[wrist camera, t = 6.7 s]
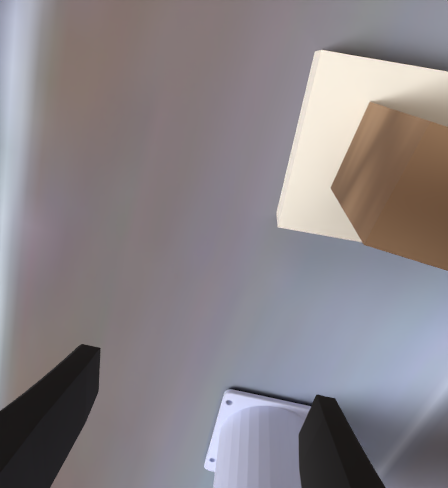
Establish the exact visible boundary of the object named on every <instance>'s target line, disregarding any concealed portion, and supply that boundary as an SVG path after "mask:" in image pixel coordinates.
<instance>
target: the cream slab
mask: <svg viewBox="0 0 448 488" xmlns="http://www.w3.org/2000/svg"><path fill="white" fill-rule="evenodd" d="M369 102H373V103H376V104H379V105H382V106H385V107H388V108H391V109H394V110H397V111H400V112H403V113H407V114H410V115H413V116H416V117H419V118H422V119H425V120H428V121H431V122H434V123H437V124H440V125H443V126H446V127H448V72H447V71H441V70H435V69H429V68H424V67H418V66H412V65H406V64H400V63H395V62H389V61H383V60H377V59H371V58H365V57H360V56H354V55H348V54H342V53H336V52H331V51H325V50H320V51H316V52H315V54H314V58H313V62H312V66H311V71H310V75H309V79H308V83H307V87H306V92H305V96H304V100H303V104H302V108H301V113H300V117H299V121H298V125H297V129H296V134H295V138H294V142H293V146H292V150H291V155H290V159H289V163H288V167H287V171H286V176H285V180H284V184H283V188H282V192H281V197H280V201H279V205H278V209H277V223H278V227H280V228H285V229H291V230H297V231H302V232H308V233H313V234H319V235H324V236H330V237H335V238H341V239H347V240H352V241H358V242H362V241H361V239H360V238H359V236H358V234H357V232H356V231H355V229H354V227H353V226H352V224H351V222H350V221H349V219H348V217H347V215H346V214H345V212H344V210H343V209H342V207H341V205H340V204H339V202H338V200H337V198H336V197H335V195H334V193H333V192H332V190H331V185H332V183H333V181H334V179H335V177H336V174H337V172H338V170H339V168H340V166H341V163H342V161H343V159H344V157H345V155H346V153H347V150H348V148H349V146H350V144H351V142H352V139H353V137H354V135H355V133H356V131H357V128H358V126H359V124H360V122H361V120H362V117H363V115H364V113H365V111H366V109H367V106H368V104H369Z"/></svg>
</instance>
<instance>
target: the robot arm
mask: <svg viewBox="0 0 448 488" xmlns="http://www.w3.org/2000/svg"><path fill="white" fill-rule="evenodd" d="M99 368H100V348H98V347H93V346H89V345H84V344H82V345H80V346H78V347H77V348H76V349H75V350H74V351H73V352H72V353H71V354H69V355H68V356H67V357H66V358H65V359H64V360H63V361H62V362H60V363H59V364H58V365H57V366H56V367H55V368H54V369H52V370H51V371H50V372H49V373H48V374H47V375H45V376H44V377H43V378H42V379H41V380H39V381H38V382H37V383H36V384H34V385H33V386H32V387H31V388H29V389H28V390H27V391H26V392H25V393H23V394H22V395H21V396H19V397H18V398H17V399H16V400H14V401H13V402H12V403H10V404H9V405H8V406H6V407H5V408H3V409H2V410H1V411H0V488H50V487H51V485H52V483H53V481H54V479H55V478H56V476H57V474H58V472H59V470H60V468H61V467H62V465H63V463H64V461H65V459H66V458H67V456H68V454H69V452H70V450H71V448H72V447H73V445H74V443H75V441H76V439H77V437H78V436H79V434H80V432H81V430H82V428H83V426H84V424H85V422H86V420H87V418H88V415H89V413H90V411H91V408H92V406H93V404H94V401H95V399H96V396H97V394H98V390H99ZM228 400H230V401H228ZM204 467H205V469H207V470H209V471H213V472H215V477H214V486H213V488H385V486H384V484H383V483H382V481H381V479H380V478H379V476H378V475H377V473H376V471H375V469H374V468H373V466H372V464H371V463H370V461H369V459H368V458H367V456H366V454H365V452H364V451H363V449H362V447H361V445H360V444H359V442H358V440H357V438H356V436H355V434H354V433H353V431H352V429H351V427H350V425H349V423H348V422H347V420H346V418H345V416H344V414H343V412H342V410H341V408H340V407H339V405H338V403H337V401H336V400H335V398H330V397H325V396H321V395H316V397H315V399H314V401H313V404H312V406H307V405H302V404H298V403H293V402H288V401H284V400H279V399H274V398H270V397H265V396H260V395H256V394H251V393H247V392H242V391H237V390H233V389H229V390H226V391H225V392H224V395H223V399H222V402H221V406H220V410H219V413H218V417H217V420H216V424H215V428H214V431H213V435H212V438H211V442H210V445H209V449H208V453H207V456H206V460H205V465H204Z"/></svg>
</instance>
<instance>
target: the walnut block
mask: <svg viewBox="0 0 448 488" xmlns="http://www.w3.org/2000/svg"><path fill="white" fill-rule="evenodd" d="M331 190H332V192H333V193H334V195H335V197H336V198H337V200H338V202H339V204H340V205H341V207H342V209H343V210H344V212H345V214H346V215H347V217H348V219H349V221H350V222H351V224H352V226H353V227H354V229H355V231H356V232H357V234H358V236H359V238H360V239H361V241H362V243H363V244H364V245H367V246H370V247H373V248H376V249H379V250H383V251H386V252H389V253H392V254H395V255H399V256H402V257H405V258H408V259H412V260H415V261H418V262H421V263H424V264H428V265H431V266H434V267H437V268H441V269H444V270H447V271H448V127H446V126H443V125H440V124H437V123H434V122H431V121H428V120H425V119H422V118H419V117H416V116H413V115H410V114H407V113H403V112H400V111H397V110H394V109H391V108H388V107H385V106H382V105H379V104H376V103H373V102H369V104H368V106H367V109H366V111H365V113H364V115H363V117H362V120H361V122H360V124H359V126H358V128H357V131H356V133H355V135H354V137H353V139H352V142H351V144H350V146H349V148H348V150H347V153H346V155H345V157H344V159H343V161H342V163H341V166H340V168H339V170H338V172H337V174H336V177H335V179H334V181H333V183H332V185H331Z"/></svg>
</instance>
